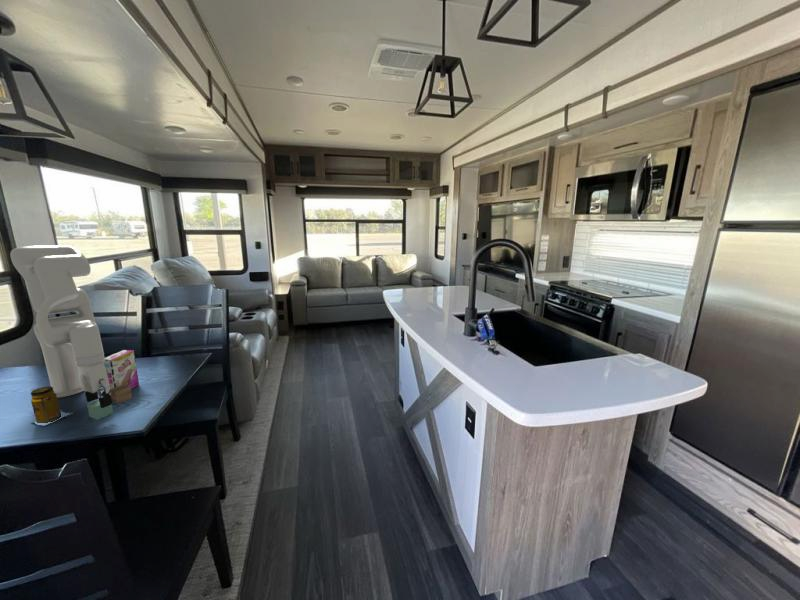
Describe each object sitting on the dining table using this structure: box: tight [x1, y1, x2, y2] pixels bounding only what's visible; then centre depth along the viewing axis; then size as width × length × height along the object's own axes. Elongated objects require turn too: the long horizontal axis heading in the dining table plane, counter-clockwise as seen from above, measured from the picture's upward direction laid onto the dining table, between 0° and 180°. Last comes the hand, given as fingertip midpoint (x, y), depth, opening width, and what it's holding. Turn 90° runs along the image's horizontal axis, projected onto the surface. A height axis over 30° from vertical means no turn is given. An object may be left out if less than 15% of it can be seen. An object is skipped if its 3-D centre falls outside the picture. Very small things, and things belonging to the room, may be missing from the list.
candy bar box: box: [103, 349, 140, 390], centre depth 134 cm, size 11×5×16 cm, turn 178°
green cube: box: [86, 399, 114, 421], centre depth 118 cm, size 5×5×5 cm
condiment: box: [30, 385, 74, 423], centre depth 114 cm, size 7×8×12 cm
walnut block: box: [110, 384, 133, 405], centre depth 129 cm, size 5×5×5 cm
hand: (99, 403), depth 117 cm, fingers open, 9 cm apart
